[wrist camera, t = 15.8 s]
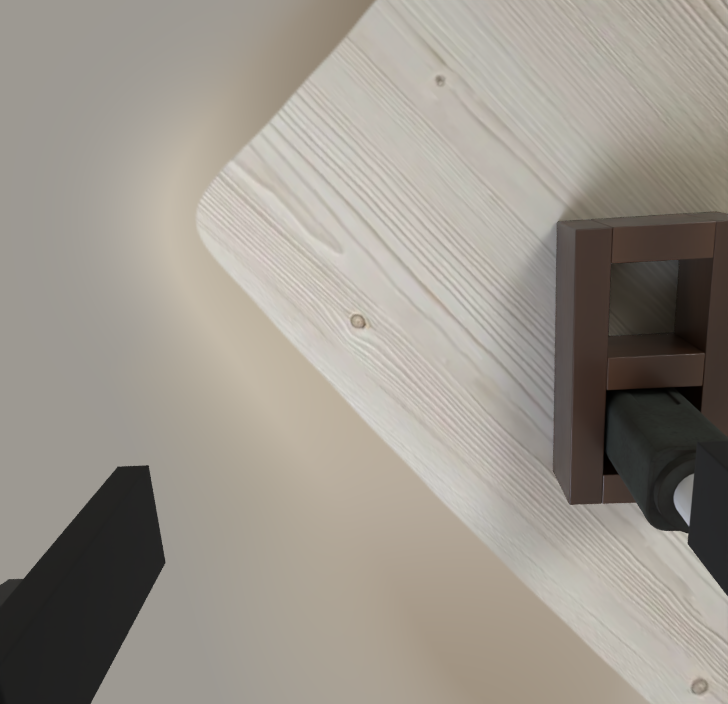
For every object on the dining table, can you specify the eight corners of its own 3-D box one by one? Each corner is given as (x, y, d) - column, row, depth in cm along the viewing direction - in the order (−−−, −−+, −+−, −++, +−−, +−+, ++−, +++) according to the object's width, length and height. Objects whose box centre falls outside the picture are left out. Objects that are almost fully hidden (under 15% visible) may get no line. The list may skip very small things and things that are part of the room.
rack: (552, 471, 50) (569, 505, 45) (556, 221, 45) (575, 229, 40) (694, 466, 49) (727, 499, 44) (716, 211, 44) (755, 218, 39)
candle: (588, 437, 49) (750, 709, 25) (592, 371, 47) (767, 593, 24) (659, 436, 48) (894, 712, 25) (665, 370, 47) (921, 595, 23)
